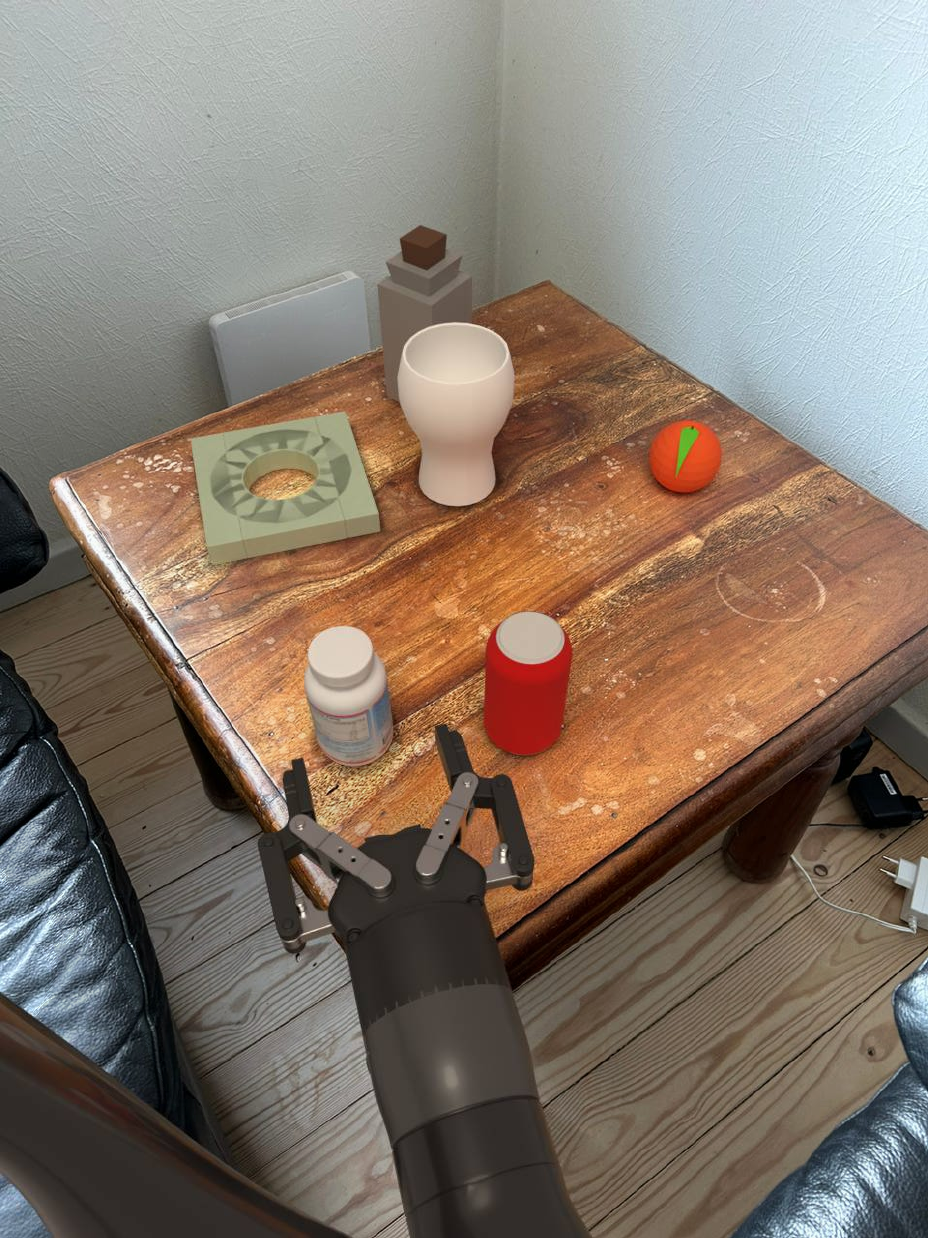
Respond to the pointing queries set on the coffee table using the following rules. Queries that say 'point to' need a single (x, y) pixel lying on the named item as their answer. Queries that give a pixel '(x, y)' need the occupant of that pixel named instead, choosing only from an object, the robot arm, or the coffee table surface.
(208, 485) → the hole plate
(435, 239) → the perfume bottle
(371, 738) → the pill bottle
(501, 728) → the beverage can
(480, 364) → the cup
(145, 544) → the coffee table surface
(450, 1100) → the robot arm
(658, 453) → the clementine
